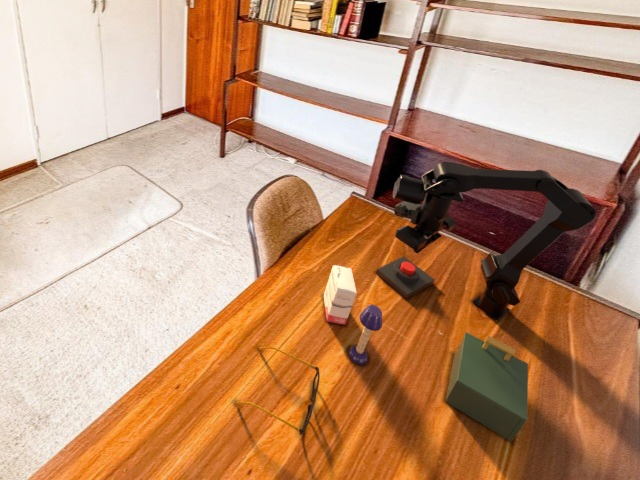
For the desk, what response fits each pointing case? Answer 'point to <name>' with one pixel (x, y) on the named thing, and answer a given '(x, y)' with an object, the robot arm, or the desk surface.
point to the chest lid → (494, 374)
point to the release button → (407, 268)
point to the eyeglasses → (310, 407)
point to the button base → (404, 278)
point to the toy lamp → (366, 332)
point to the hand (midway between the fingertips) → (416, 252)
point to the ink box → (339, 294)
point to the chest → (480, 406)
